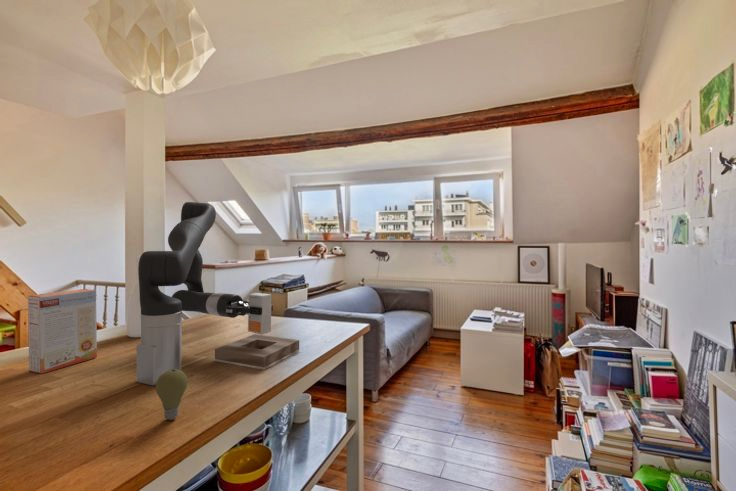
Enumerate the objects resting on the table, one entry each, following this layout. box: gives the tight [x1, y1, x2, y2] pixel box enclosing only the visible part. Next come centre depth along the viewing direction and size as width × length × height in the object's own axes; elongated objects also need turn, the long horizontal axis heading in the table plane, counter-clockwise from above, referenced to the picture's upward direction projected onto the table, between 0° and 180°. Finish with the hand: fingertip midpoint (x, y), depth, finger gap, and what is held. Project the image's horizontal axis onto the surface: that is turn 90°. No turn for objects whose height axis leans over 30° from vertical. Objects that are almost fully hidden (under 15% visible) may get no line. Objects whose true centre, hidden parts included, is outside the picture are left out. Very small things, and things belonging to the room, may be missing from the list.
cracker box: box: [27, 288, 98, 375], centre depth 99 cm, size 14×6×21 cm, turn 160°
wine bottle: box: [126, 255, 141, 338], centre depth 130 cm, size 10×10×30 cm
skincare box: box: [247, 292, 273, 335], centre depth 108 cm, size 6×4×12 cm
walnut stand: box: [214, 333, 300, 371], centre depth 108 cm, size 18×18×4 cm
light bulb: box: [155, 369, 188, 421], centre depth 69 cm, size 6×6×10 cm
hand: (266, 309), depth 107 cm, fingers closed on skincare box, 4 cm apart
